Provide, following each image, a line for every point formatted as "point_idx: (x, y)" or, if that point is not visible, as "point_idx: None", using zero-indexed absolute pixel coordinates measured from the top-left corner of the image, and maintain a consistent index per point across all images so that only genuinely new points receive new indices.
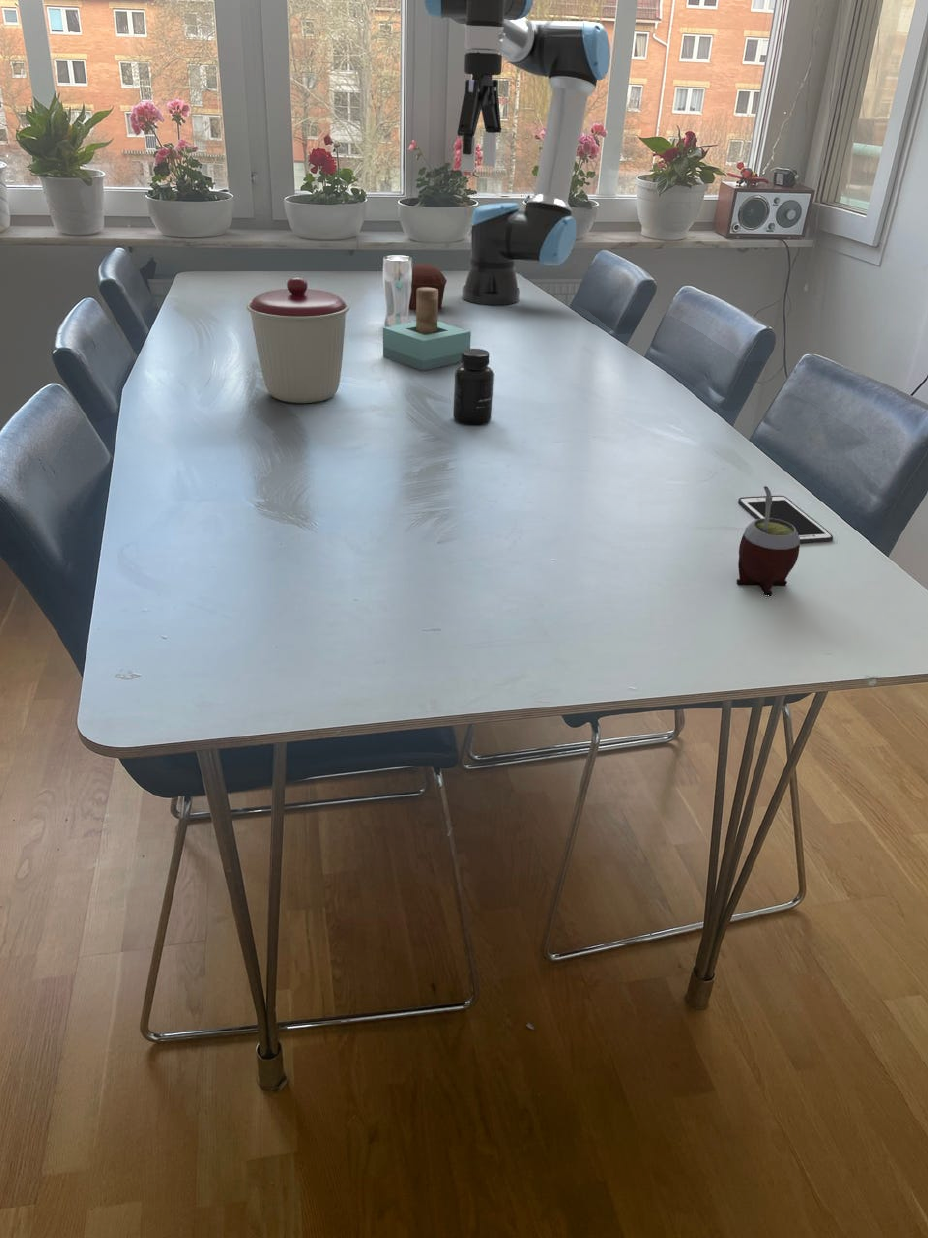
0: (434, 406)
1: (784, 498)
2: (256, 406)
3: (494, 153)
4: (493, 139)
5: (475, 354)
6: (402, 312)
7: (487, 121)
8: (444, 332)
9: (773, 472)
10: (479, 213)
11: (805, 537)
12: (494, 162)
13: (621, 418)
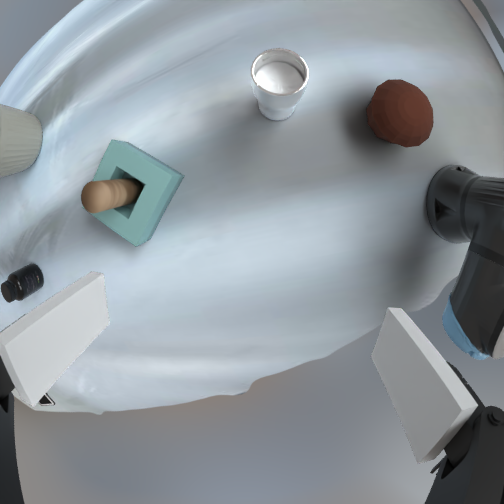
0: (40, 243)
1: (53, 404)
2: None
3: (387, 390)
4: (412, 431)
5: (3, 293)
6: (264, 108)
7: (448, 494)
8: (118, 217)
9: (74, 410)
10: None
11: None
12: (377, 366)
13: (86, 365)
